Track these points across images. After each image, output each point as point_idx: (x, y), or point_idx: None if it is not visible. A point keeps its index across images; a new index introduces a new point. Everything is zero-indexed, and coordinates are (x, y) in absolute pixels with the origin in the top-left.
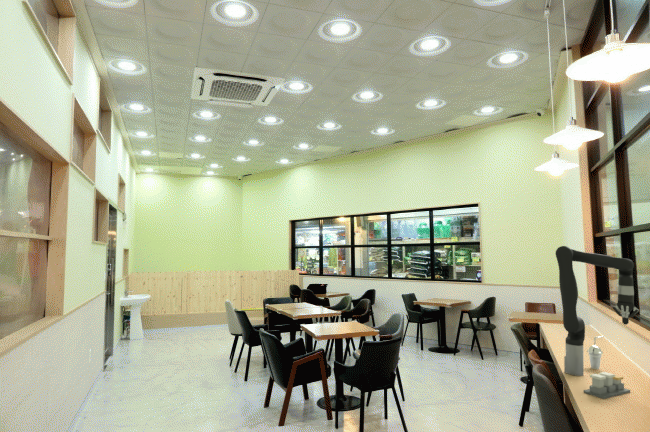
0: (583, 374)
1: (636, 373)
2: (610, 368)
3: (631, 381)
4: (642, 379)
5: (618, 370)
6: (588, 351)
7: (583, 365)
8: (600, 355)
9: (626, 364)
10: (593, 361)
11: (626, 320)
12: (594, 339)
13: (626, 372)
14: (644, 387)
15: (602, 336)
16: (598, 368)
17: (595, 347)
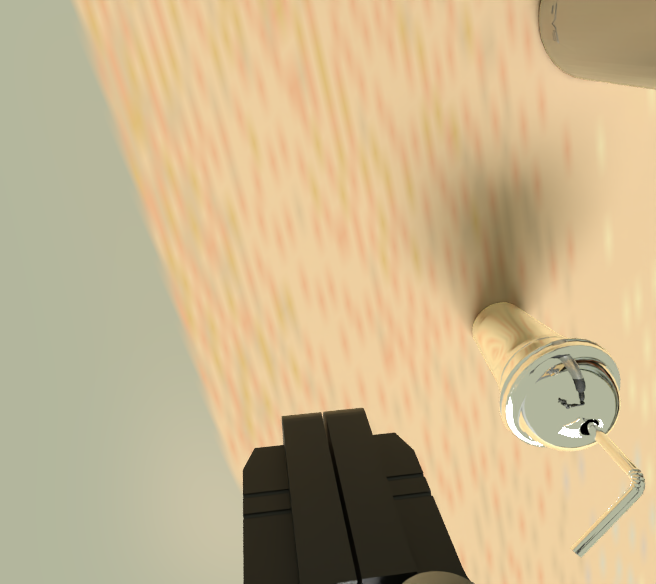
0: (540, 20)
1: (265, 426)
2: (418, 407)
3: (222, 169)
4: (189, 304)
5: (368, 402)
6: (606, 353)
7: (583, 21)
8: (507, 374)
9: None
10: (529, 321)
11: (293, 508)
12: (633, 464)
13: (318, 396)
14: (94, 59)
15: (584, 542)
16: (477, 322)
17: (578, 397)
